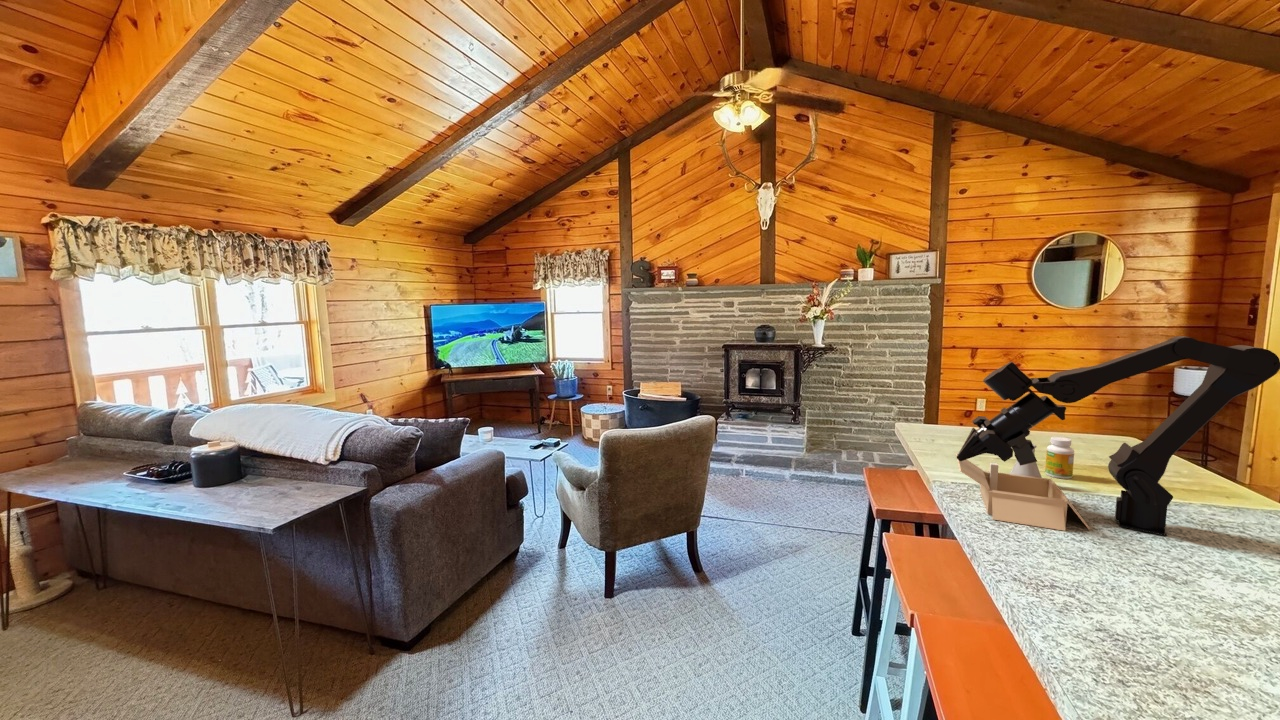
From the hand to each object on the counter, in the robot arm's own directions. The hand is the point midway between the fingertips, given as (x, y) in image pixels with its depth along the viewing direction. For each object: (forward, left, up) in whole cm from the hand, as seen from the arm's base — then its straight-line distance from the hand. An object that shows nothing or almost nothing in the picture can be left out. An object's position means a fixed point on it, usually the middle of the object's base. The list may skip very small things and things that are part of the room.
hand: (958, 459), depth 112 cm
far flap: (-5, -1, -4) cm, 7 cm away
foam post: (-6, -7, -9) cm, 13 cm away
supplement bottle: (-17, -32, -9) cm, 38 cm away
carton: (-13, -3, -9) cm, 16 cm away
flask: (-11, -20, -9) cm, 25 cm away
